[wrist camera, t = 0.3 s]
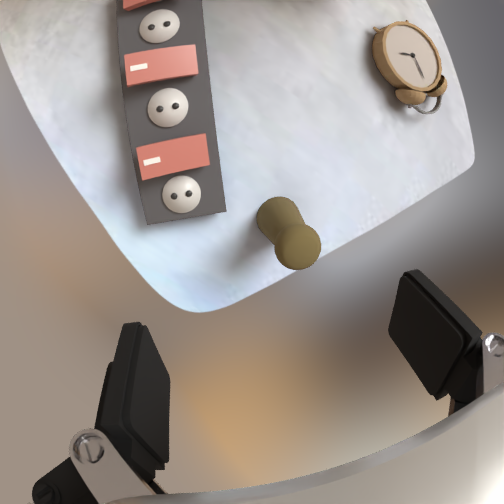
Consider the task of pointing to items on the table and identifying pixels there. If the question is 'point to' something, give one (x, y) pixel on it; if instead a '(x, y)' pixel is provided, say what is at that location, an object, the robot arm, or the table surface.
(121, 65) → the power strip
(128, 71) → the outlet rocker
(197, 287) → the table surface
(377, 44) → the alarm clock
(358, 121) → the table surface
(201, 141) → the rocker outlet
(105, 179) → the table surface
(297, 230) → the cork
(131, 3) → the outlet rocker
